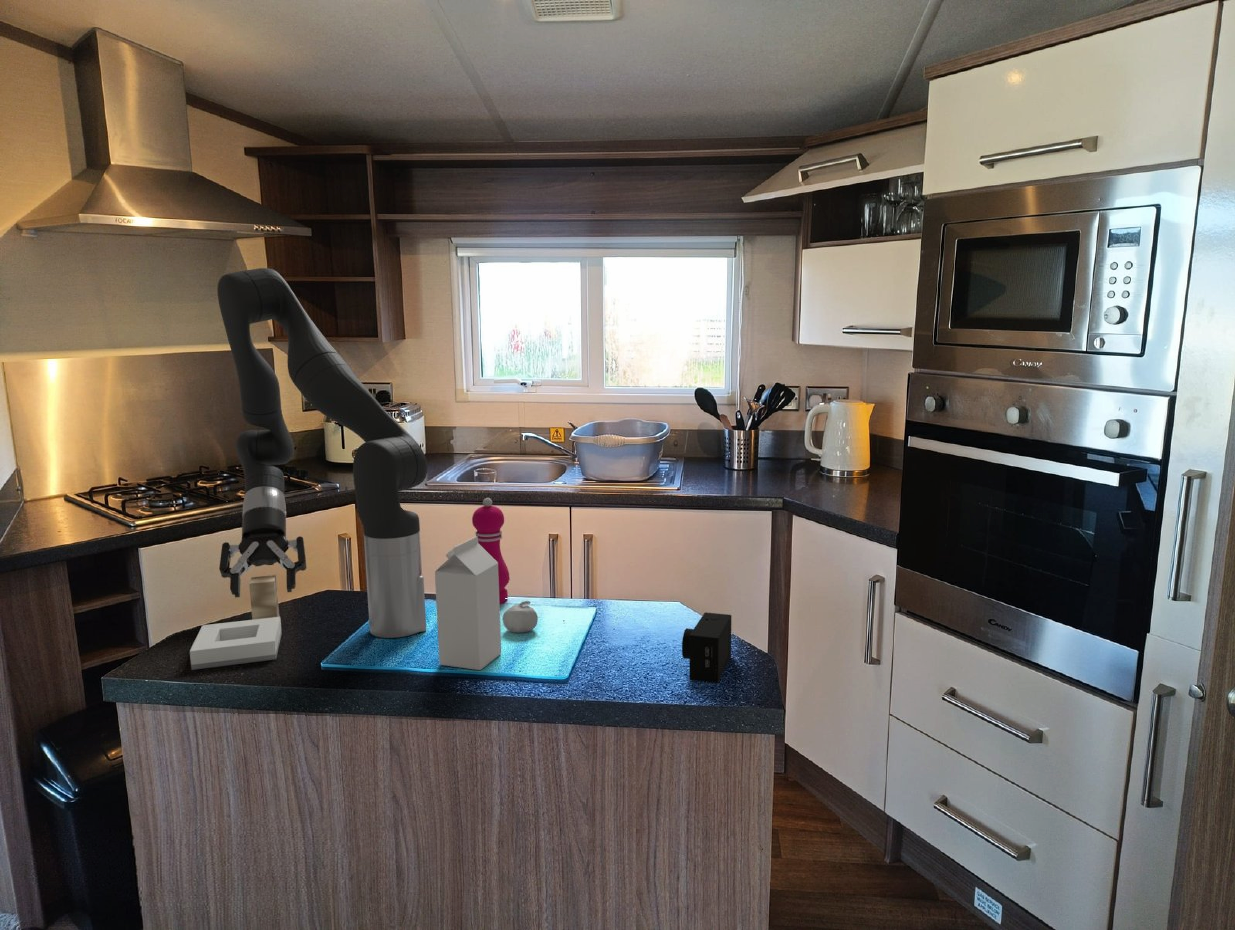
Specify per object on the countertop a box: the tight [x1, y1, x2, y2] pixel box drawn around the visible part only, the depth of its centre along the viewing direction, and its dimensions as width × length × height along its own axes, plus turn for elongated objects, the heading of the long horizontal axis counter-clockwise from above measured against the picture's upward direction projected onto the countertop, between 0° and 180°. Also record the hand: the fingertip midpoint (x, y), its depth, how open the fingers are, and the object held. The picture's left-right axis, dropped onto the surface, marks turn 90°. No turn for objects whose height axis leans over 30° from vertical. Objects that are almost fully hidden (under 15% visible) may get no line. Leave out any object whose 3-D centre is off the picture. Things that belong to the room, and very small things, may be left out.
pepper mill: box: [471, 497, 510, 605], centre depth 153 cm, size 7×7×20 cm
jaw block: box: [248, 574, 280, 620], centre depth 144 cm, size 4×4×8 cm
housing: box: [189, 616, 283, 671], centre depth 131 cm, size 12×12×3 cm
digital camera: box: [681, 612, 732, 684], centre depth 122 cm, size 10×5×7 cm, turn 162°
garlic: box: [502, 600, 539, 634], centre depth 138 cm, size 6×5×5 cm
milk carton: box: [434, 535, 502, 671], centre depth 125 cm, size 7×7×19 cm
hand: (263, 592), depth 143 cm, fingers open, 8 cm apart
